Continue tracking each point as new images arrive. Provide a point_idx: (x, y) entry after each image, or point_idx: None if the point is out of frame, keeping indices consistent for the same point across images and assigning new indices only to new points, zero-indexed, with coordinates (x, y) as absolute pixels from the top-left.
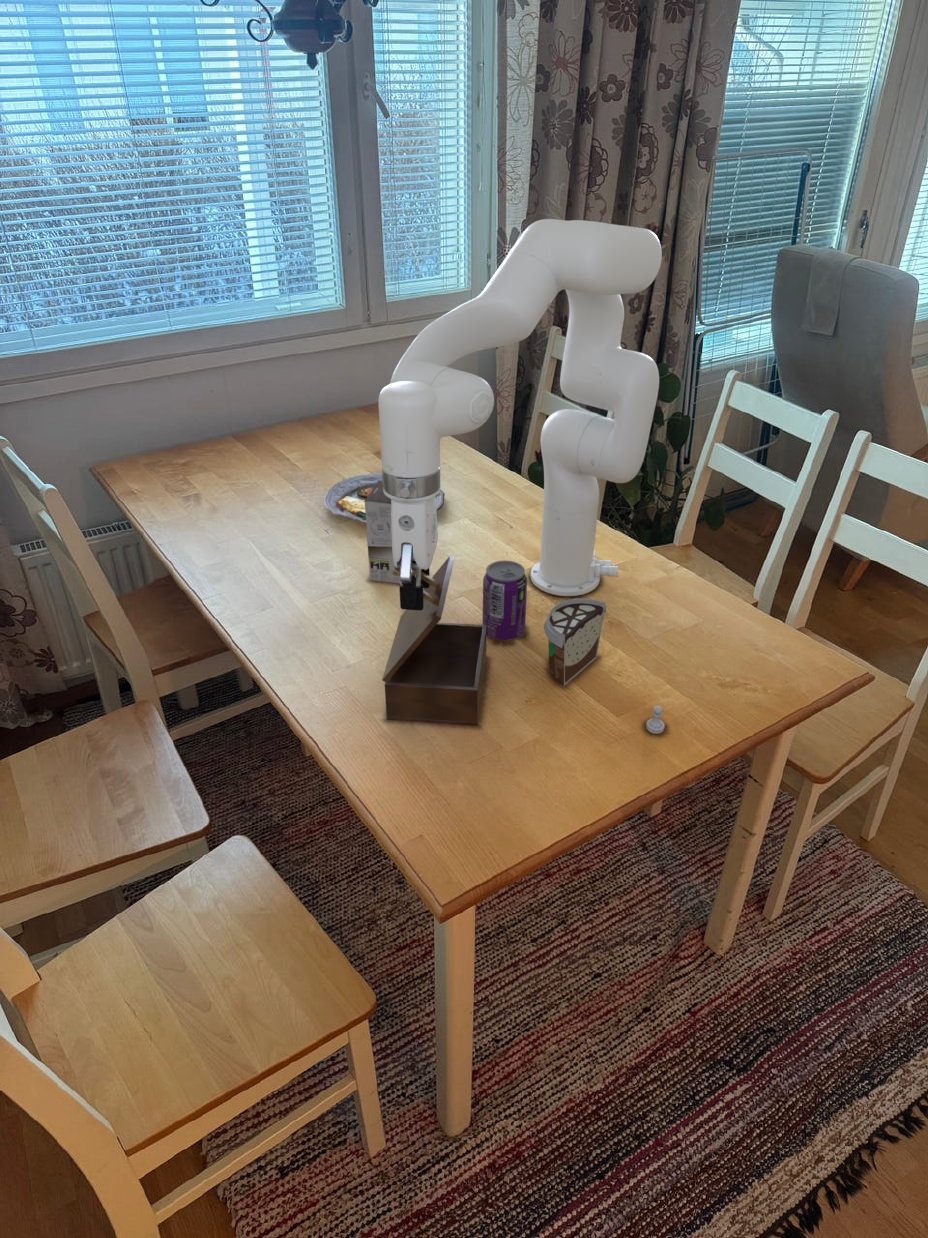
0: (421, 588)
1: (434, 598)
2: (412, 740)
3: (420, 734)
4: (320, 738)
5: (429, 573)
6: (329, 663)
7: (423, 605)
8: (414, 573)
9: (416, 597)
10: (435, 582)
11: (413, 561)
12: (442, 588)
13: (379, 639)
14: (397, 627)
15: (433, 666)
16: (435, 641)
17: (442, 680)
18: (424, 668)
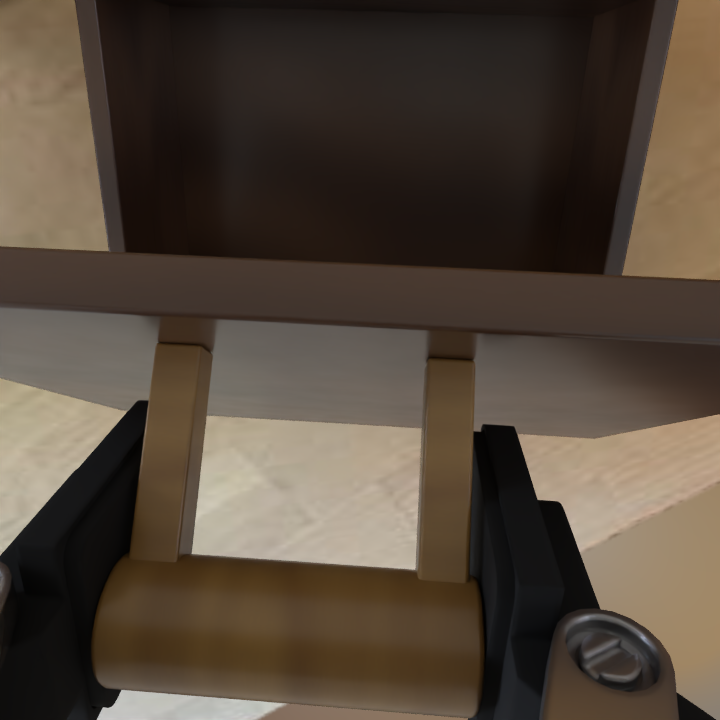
0: (558, 574)
1: (457, 368)
2: (664, 251)
3: (635, 227)
4: (622, 513)
5: (85, 460)
6: (273, 535)
7: (493, 433)
8: (290, 668)
9: (561, 550)
10: (187, 382)
11: (68, 701)
12: (405, 327)
13: (120, 414)
14: (209, 415)
15: (257, 216)
16: (162, 228)
17: (342, 173)
18: (275, 250)
